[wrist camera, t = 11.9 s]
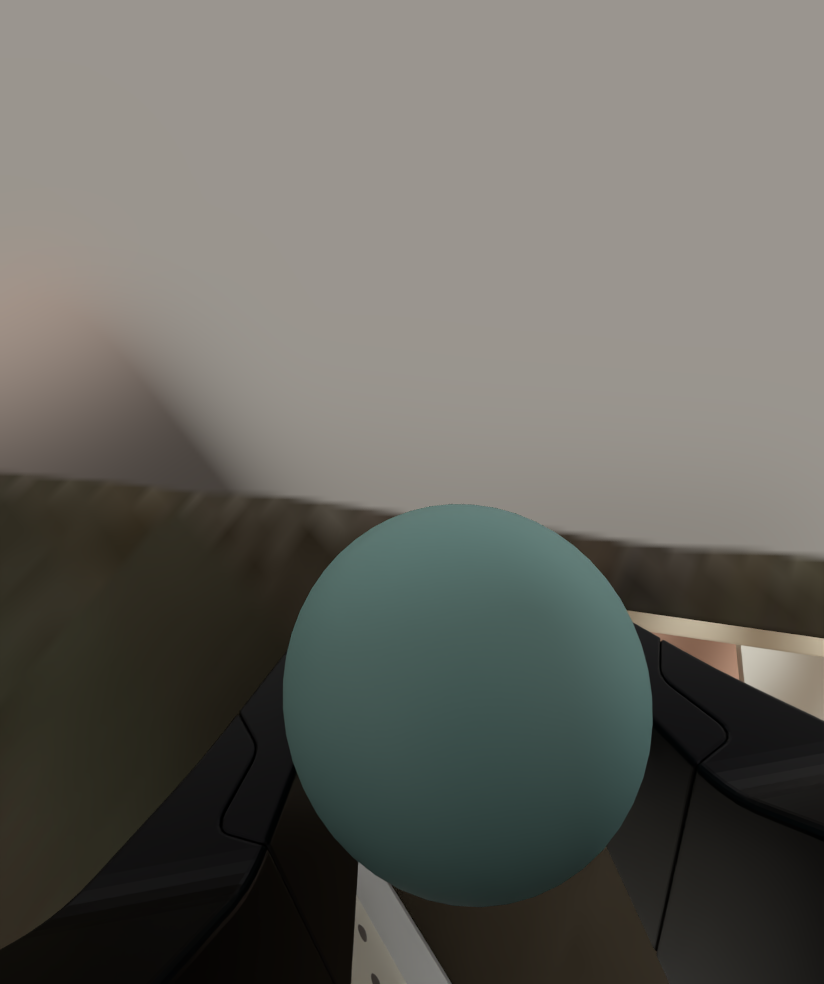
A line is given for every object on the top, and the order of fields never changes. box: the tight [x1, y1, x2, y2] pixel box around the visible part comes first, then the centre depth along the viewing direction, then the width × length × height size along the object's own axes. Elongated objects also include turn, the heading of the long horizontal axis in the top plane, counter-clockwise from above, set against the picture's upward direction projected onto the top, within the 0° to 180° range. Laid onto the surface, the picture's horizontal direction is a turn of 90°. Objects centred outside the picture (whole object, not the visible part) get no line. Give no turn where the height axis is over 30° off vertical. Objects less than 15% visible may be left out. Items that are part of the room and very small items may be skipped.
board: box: [626, 610, 824, 721], centre depth 19 cm, size 21×6×2 cm, turn 82°
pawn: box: [283, 504, 653, 907], centre depth 9 cm, size 4×4×13 cm
